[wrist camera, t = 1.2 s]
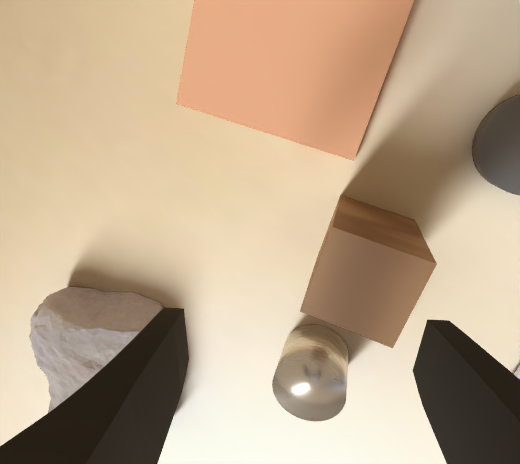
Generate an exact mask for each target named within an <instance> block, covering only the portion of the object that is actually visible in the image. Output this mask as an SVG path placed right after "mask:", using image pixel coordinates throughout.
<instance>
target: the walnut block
mask: <svg viewBox="0 0 520 464" xmlns="http://www.w3.org/2000/svg"><path fill="white" fill-rule="evenodd" d="M436 264H437V263H436V261H435V259H434V258H433V256H432V254H431V252H430V250H429V248H428V246H427V244H426V242H425V240H424V238H423V236H422V234H421V232H420V230H419V228H418V226H417V224H416V222H415V220H413V219H410V218H407V217H404V216H401V215H398V214H395V213H392V212H389V211H386V210H383V209H380V208H377V207H374V206H371V205H368V204H365V203H362V202H359V201H356V200H353V199H350V198H347V197H344V196H342V195H341V196H340V198H339V201H338V204H337V206H336V209H335V212H334V214H333V217H332V220H331V222H330V225H329V228H328V230H327V233H326V236H325V238H324V241H323V244H322V246H321V249H320V252H319V254H318V257H317V260H316V263H315V266H314V269H313V272H312V275H311V278H310V282H309V285H308V288H307V291H306V294H305V297H304V300H303V304H302V307H301V310H300V311H301V312H303V313H306V314H308V315H311V316H313V317H316V318H318V319H321V320H323V321H326V322H328V323H331V324H333V325H336V326H338V327H341V328H343V329H346V330H348V331H351V332H353V333H356V334H358V335H361V336H363V337H366V338H369V339H371V340H374V341H376V342H379V343H381V344H384V345H386V346H389V347H391V348H393V347H394V345H395V343H396V341H397V339H398V337H399V335H400V333H401V331H402V329H403V328H404V326H405V324H406V322H407V320H408V318H409V316H410V314H411V312H412V310H413V308H414V306H415V305H416V303H417V301H418V299H419V297H420V295H421V293H422V291H423V289H424V287H425V285H426V283H427V282H428V280H429V278H430V276H431V274H432V272H433V270H434V268H435V266H436Z"/></svg>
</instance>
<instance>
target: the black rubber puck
mask: <svg viewBox="0 0 520 464" xmlns="http://www.w3.org/2000/svg"><path fill="white" fill-rule="evenodd" d="M472 155H473V161H474V164H475V166H476V168H477V170H478V172H479V173H480V174H481V176H482V177H483V178H484V179H485V180H487V181H488V182H490V183H491V184H493V185H495V186H497V187H499V188H501V189H503V190H505V191H507V192H510V193H512V194H516V195H520V95H516V96H514V97H511V98H509V99H507V100H505V101H503V102H502V103H500V104H499V105H497V106H496V107H495V108H494V109H492V110H491V111H490V112H489V113H488V114H487V115H486V116H485V118H484V119H483V120H482V122H481V123H480V125H479V127H478V128H477V131H476V133H475V136H474V139H473V145H472Z"/></svg>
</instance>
